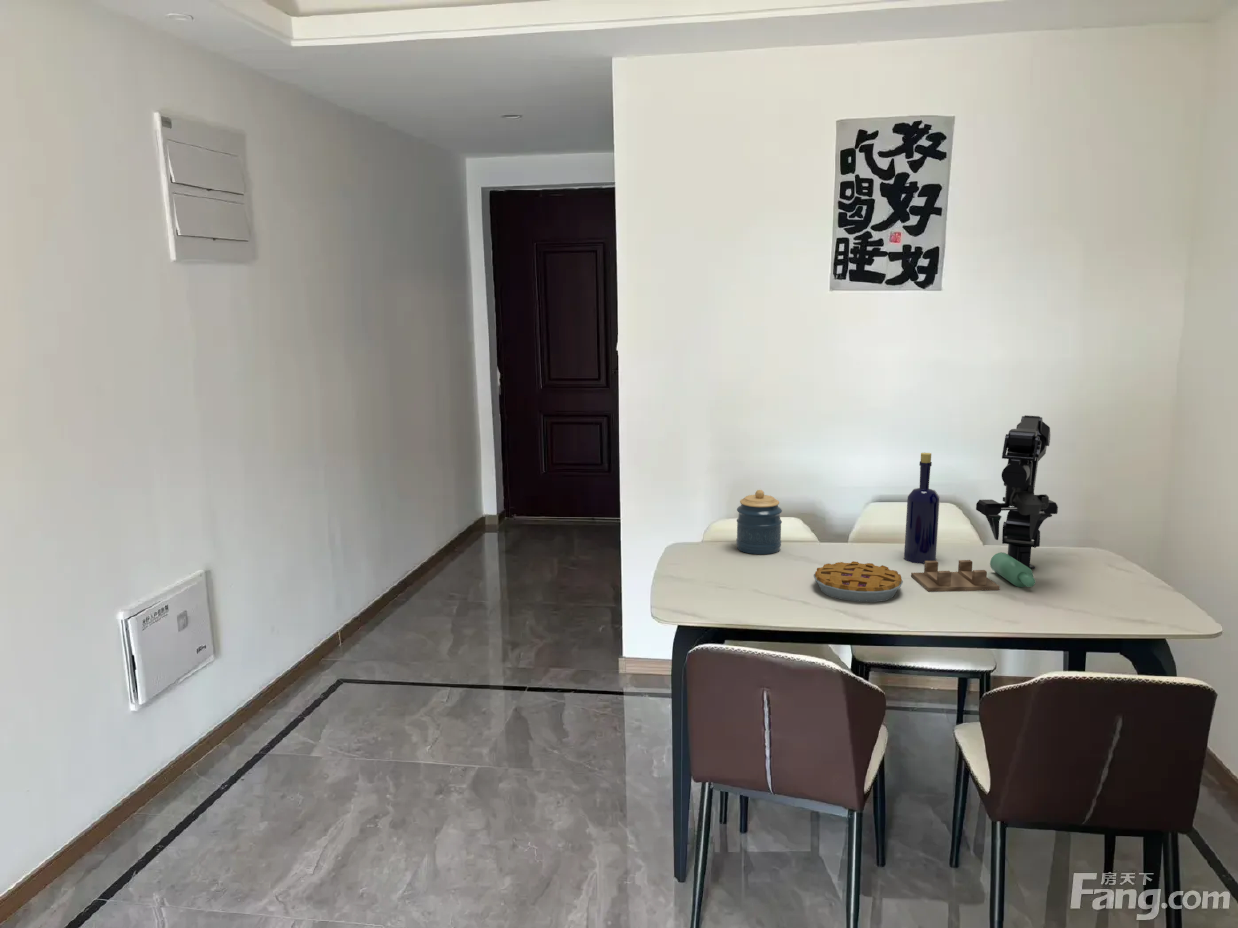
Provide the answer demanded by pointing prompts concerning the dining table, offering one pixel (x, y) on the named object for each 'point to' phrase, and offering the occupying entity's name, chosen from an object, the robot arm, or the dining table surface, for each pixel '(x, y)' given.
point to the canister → (759, 524)
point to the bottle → (922, 518)
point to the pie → (858, 581)
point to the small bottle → (1012, 570)
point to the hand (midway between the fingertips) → (1014, 539)
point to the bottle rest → (954, 578)
